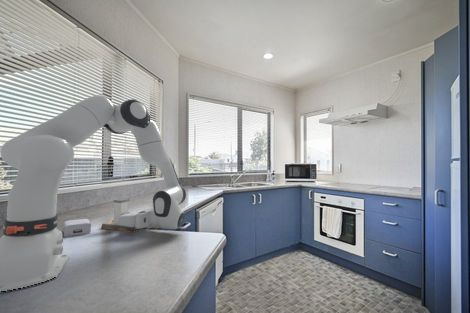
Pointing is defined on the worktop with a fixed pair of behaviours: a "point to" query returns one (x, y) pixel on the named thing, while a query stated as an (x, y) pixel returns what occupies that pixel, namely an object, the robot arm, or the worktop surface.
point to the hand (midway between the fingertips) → (124, 214)
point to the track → (118, 227)
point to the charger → (76, 227)
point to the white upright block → (119, 209)
